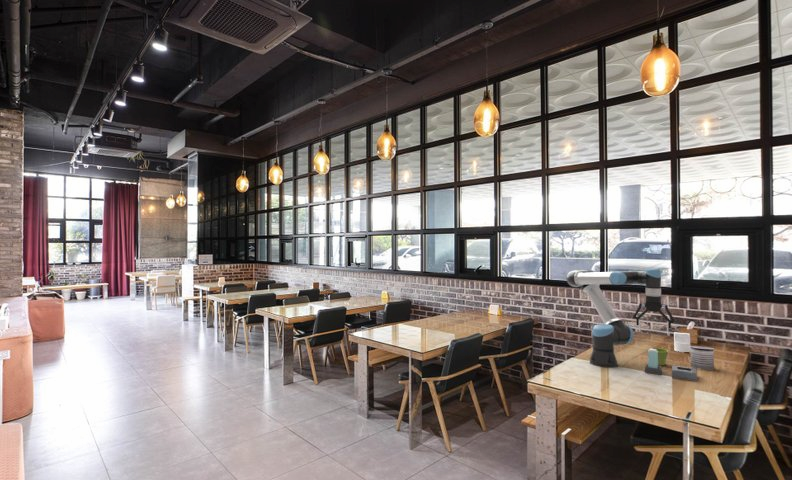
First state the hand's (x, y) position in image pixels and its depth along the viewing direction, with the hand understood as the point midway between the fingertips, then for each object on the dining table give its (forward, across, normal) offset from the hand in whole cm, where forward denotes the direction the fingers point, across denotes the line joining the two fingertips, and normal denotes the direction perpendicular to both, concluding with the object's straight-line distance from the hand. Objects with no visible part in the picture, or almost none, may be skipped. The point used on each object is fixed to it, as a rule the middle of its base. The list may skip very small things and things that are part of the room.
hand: (653, 332), depth 232 cm
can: (+23, +24, +25) cm, 41 cm away
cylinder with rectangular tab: (+23, +15, +64) cm, 69 cm away
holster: (+22, 0, -1) cm, 23 cm away
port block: (+22, +14, -1) cm, 27 cm away
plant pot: (+23, +3, +19) cm, 30 cm away
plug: (+22, 0, -1) cm, 23 cm away
